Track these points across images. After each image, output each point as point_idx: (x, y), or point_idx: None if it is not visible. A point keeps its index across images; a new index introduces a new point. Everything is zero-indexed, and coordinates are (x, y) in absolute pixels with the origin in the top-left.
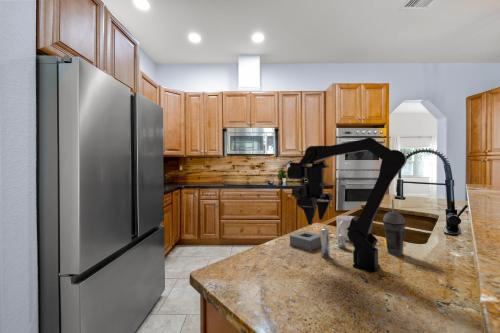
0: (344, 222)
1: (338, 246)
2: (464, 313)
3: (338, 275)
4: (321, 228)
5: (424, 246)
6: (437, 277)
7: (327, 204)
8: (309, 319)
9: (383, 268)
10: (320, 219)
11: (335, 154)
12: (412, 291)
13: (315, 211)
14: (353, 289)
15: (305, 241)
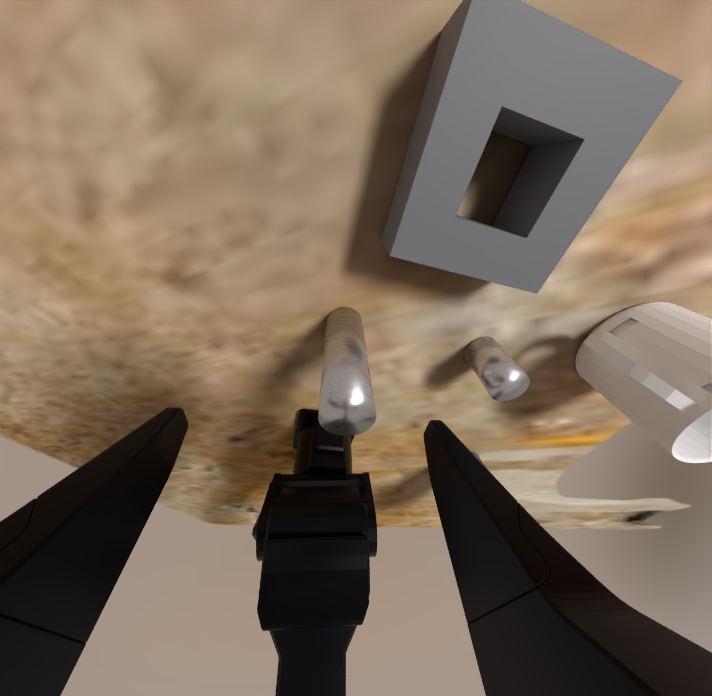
0: (671, 408)
1: (474, 344)
2: (238, 519)
3: (213, 391)
4: (355, 399)
5: (534, 492)
6: None
7: (486, 686)
8: None
9: None
10: (427, 429)
11: None
12: (257, 487)
13: (74, 647)
14: None
15: (399, 213)
